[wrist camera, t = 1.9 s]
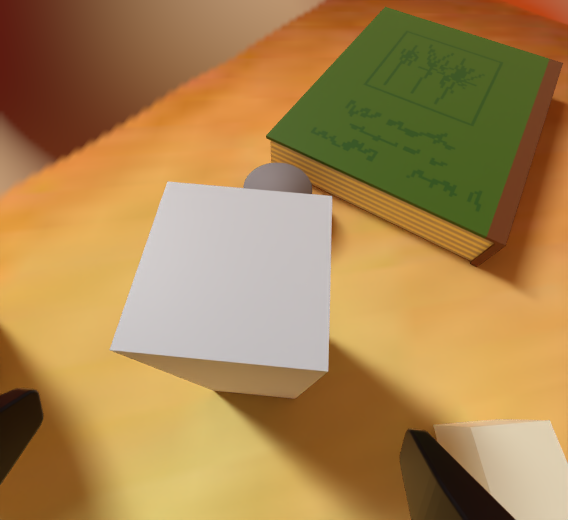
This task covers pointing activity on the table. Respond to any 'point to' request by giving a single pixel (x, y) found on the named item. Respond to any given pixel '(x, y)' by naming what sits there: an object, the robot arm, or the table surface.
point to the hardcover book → (424, 130)
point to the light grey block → (233, 290)
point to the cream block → (513, 464)
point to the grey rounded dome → (279, 179)
